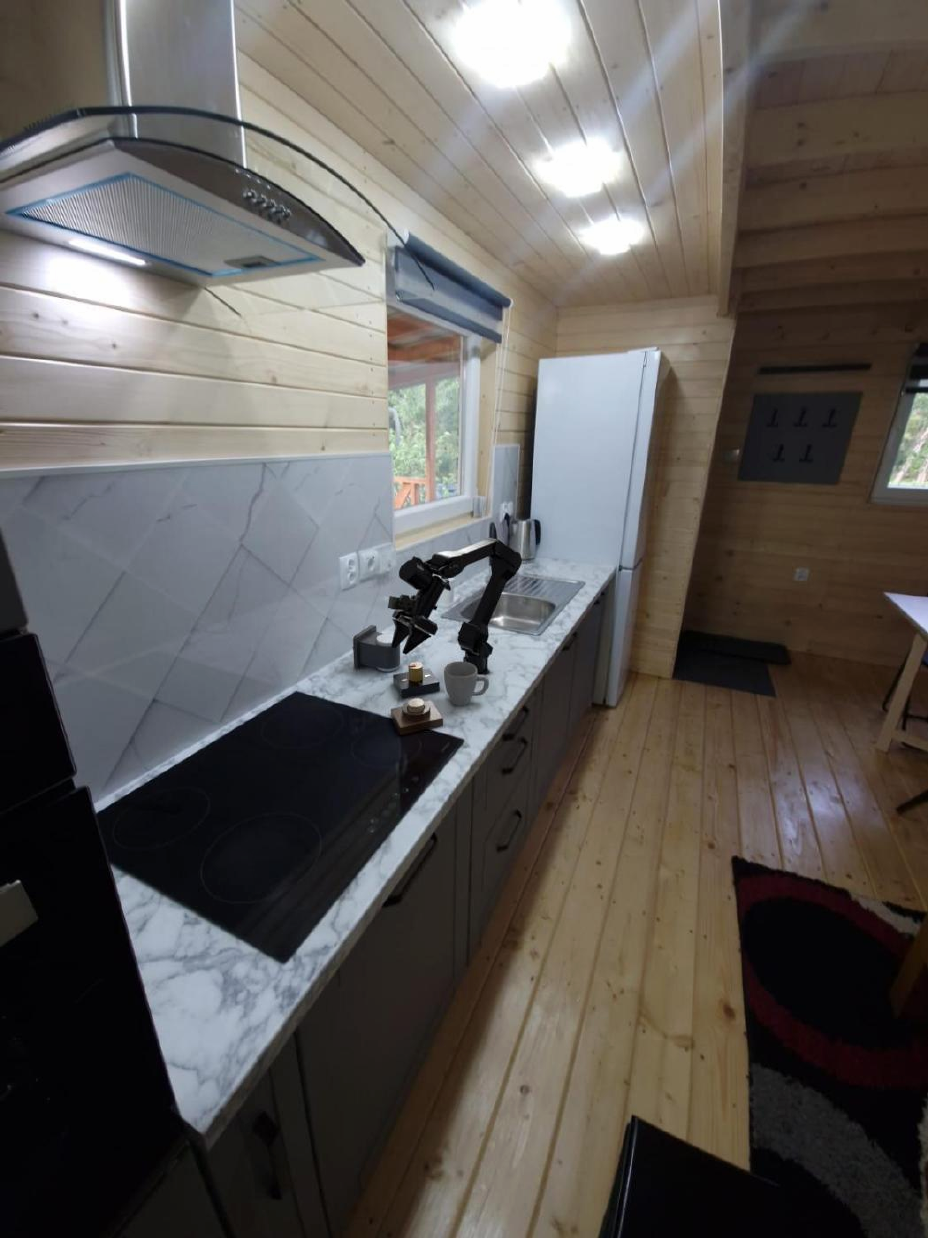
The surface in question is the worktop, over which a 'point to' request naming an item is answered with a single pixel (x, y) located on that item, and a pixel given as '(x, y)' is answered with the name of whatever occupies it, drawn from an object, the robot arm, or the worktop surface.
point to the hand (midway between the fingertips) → (398, 650)
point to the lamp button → (416, 705)
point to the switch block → (416, 718)
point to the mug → (463, 682)
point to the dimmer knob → (415, 671)
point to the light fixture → (375, 650)
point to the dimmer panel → (416, 684)
